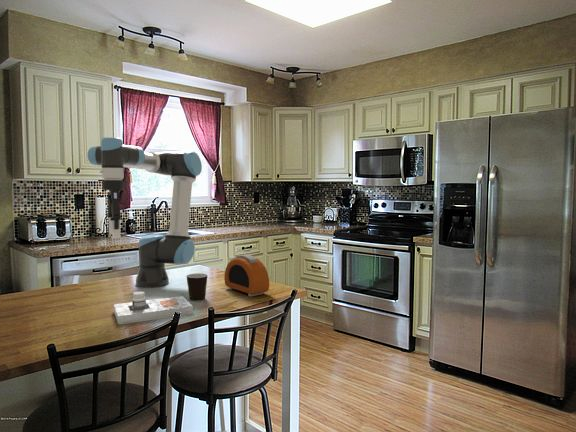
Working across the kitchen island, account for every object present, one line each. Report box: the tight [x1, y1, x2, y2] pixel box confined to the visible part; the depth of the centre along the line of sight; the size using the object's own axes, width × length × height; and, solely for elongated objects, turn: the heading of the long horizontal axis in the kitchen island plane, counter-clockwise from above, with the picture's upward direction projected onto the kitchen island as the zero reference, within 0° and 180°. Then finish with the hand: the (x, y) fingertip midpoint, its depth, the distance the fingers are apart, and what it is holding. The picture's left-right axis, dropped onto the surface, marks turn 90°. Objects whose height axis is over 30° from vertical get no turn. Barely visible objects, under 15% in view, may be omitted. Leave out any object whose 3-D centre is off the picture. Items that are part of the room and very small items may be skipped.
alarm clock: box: [224, 254, 270, 297], centre depth 190 cm, size 23×9×17 cm, turn 41°
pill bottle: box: [131, 291, 147, 311], centre depth 156 cm, size 5×5×8 cm
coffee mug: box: [186, 273, 208, 302], centre depth 179 cm, size 12×9×10 cm
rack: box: [113, 295, 194, 326], centre depth 158 cm, size 16×26×3 cm, turn 118°
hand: (114, 236), depth 160 cm, fingers open, 13 cm apart
